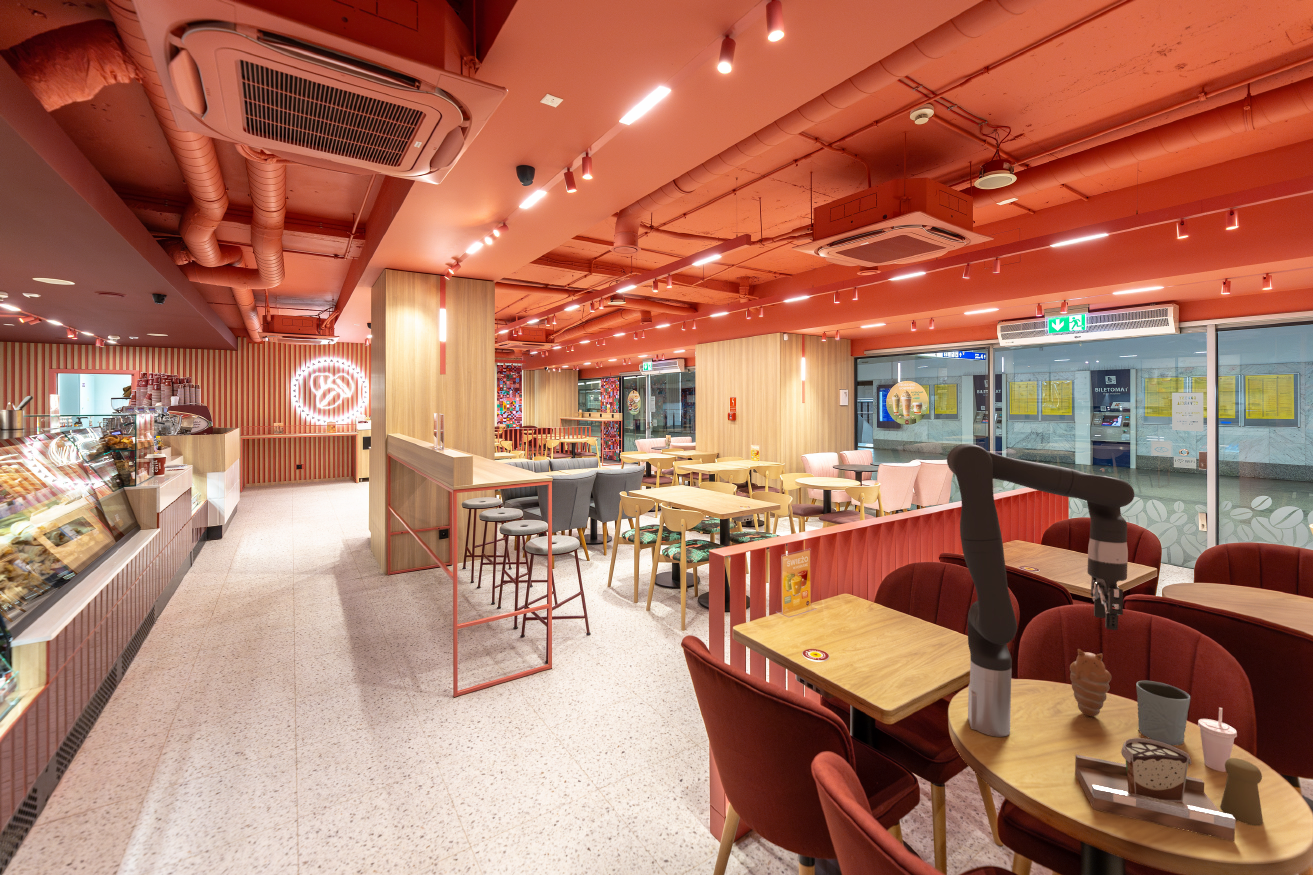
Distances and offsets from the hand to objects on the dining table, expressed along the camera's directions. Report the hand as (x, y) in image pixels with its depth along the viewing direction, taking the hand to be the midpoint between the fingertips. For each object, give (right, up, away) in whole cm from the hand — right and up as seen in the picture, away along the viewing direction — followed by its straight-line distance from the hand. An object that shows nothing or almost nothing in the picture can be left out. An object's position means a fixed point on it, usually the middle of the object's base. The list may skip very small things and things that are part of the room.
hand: (1105, 622), depth 134 cm
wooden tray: (-7, -32, -19) cm, 38 cm away
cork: (+9, -32, -22) cm, 40 cm away
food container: (-7, -30, -19) cm, 36 cm away
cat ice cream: (+8, -31, +15) cm, 35 cm away
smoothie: (+20, -31, -7) cm, 38 cm away
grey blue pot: (+19, -31, +5) cm, 37 cm away
